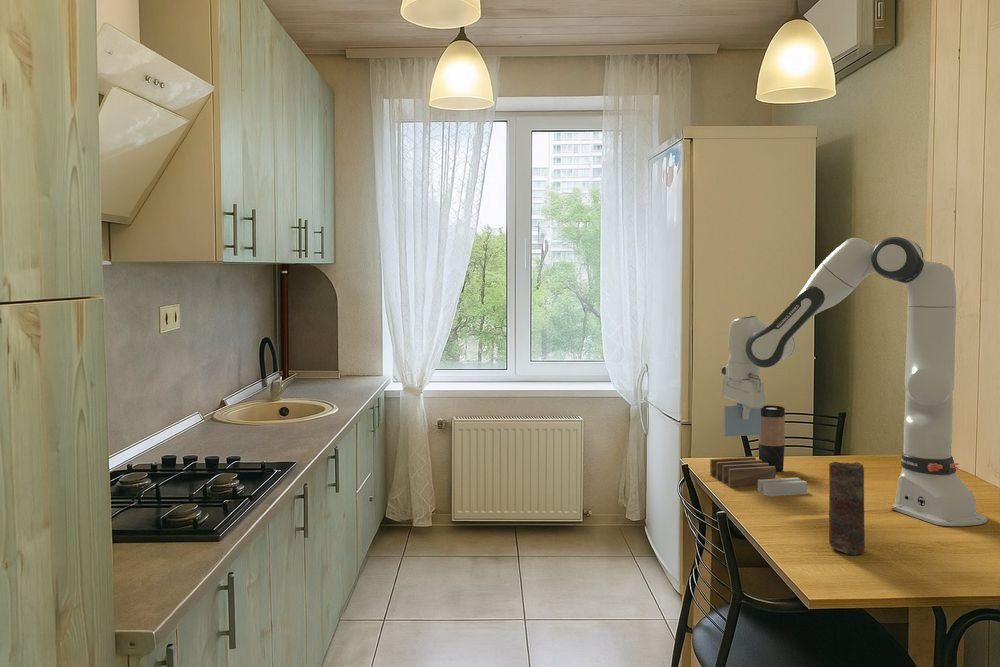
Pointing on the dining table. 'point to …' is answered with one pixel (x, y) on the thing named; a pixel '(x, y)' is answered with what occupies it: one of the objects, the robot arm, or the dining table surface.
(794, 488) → the plate stand
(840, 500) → the dark brown tall block
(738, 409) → the side plate
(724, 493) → the dining table surface
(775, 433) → the travel mug
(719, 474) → the dish rack
